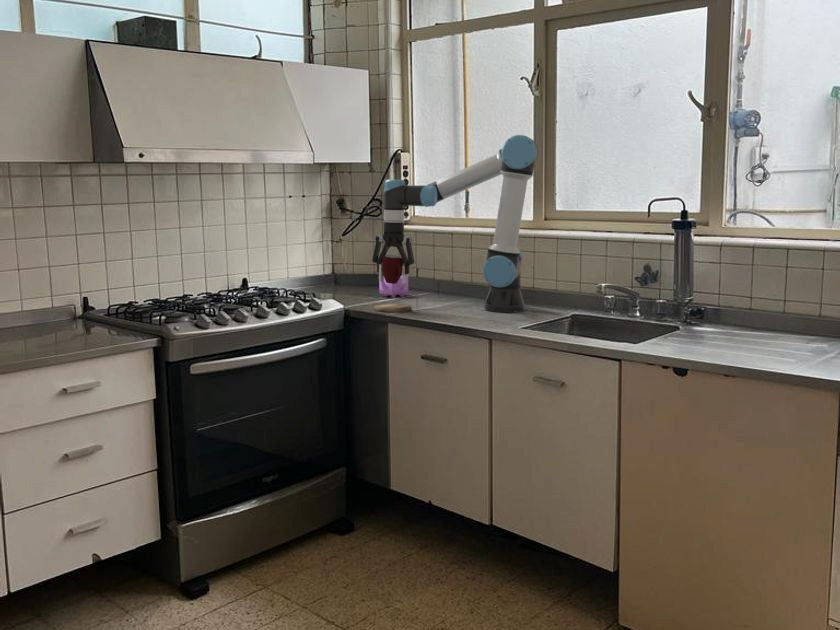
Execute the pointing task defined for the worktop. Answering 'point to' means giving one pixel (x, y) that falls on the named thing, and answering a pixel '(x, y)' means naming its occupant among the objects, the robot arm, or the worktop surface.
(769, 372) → the worktop surface
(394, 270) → the mug
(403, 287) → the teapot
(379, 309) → the trivet
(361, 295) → the worktop surface
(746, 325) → the worktop surface
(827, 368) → the worktop surface
